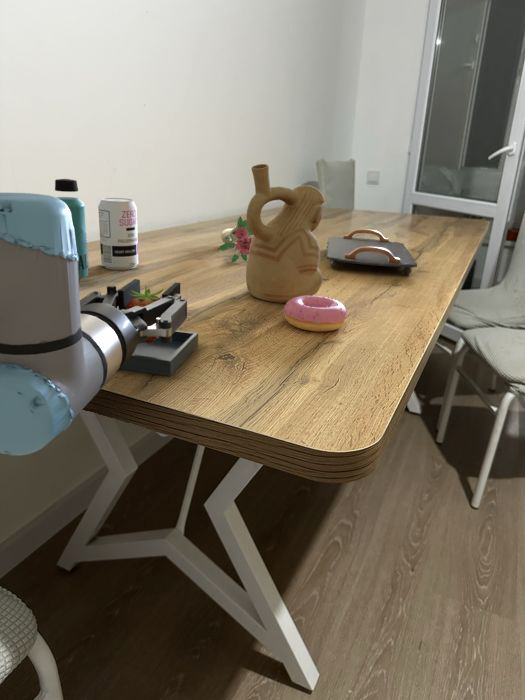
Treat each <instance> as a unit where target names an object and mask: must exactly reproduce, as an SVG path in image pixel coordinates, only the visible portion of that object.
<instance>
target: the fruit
mask: <svg viewBox="0 0 525 700" xmlns="http://www.w3.org/2000/svg"><path fill="white" fill-rule="evenodd" d="M130 291H131V290H130ZM163 291H164V288H162V289H161V290H159V291H157V292H154V293H151V289H150V288H147V285H145V288H144V294H143V293H141V292H140V293H137V292H135V291H132V292H133V293H134V294H136V295H133V296H137V297H134V298H132V299H131V300H130V302H129V303H128V305H127V307H126V310H128V309H130V308H132V307H135V306H139V307H144V306H146V305H149V304H151V303H153V302H156V301H158V300H160V299H162V295H161V296H160V297H159V296H158V295H160V294H162V293H163ZM129 294H130V293H129ZM131 295H132V294H131ZM155 339H156V337H148V339H147V340H146V341H145V342H146V343H151V342H153V341H154V340H155Z"/></svg>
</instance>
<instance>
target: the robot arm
mask: <svg viewBox="0 0 525 700" xmlns="http://www.w3.org/2000/svg"><path fill="white" fill-rule="evenodd" d="M78 261H79V256H78V254H77V248H76V240H75V232H74V226H73V222H72V216H71V212H70V209H69V208H68V206H67V205H66V204H65V203H64V202H63V201H62V200H60V199H58V198H56V196H53V195H49V194H42V193H41V194H40V193H30V192H0V454H3V455H10V456H19V457H20V456H26V455H30V454H33V453H36V452H39V451H40V450H42V449H43V448H45V447H46V446H47V445H48V444H50V442H52V441H53V440H54V439H55V438H57V436H59V435H60V434H61V433H63V432H65V431H66V430H67V429H68V428H69V427H70V426H71V424H72V422H73V421H74V419H75V418H76V417H77V416H78V415H79V414H80V413H81V412H82V411H83V409H84V408H85V407H86V406H87V405H88V404H89V403H90V402H91V401H92V400H93V399H94V397H95V396H96V395H97V394H98V393H99V392H100V390H102V389H103V388H104V387H105V386H106V384H108V382H110V380H111V379H113V377H114V376H115V375H116V374H117V373H118V372H119V371H120V370H122V369H121V368H122V366H123V365H124V364H125V363H126V362H127V361H128V360H129V359H130V358H131V356H132V355H133V353H134V351H135V349H136V346H137V344H139V343H142V342H145V341H146V340H147V339H148V337H156V338H157V339H161V342H162V343H170V342H171V341H172V334H173V333H174V332H175V331H176V330H177V331H178V329H179V328H180V326H182V325H183V324H184V322H185V321H186V320H187V319H188V299H187V298H182V293H181V282H174V283H172V285H170V286H169V287H168V288H167V289H166V290H165V291H164V292H162V293H161V296H162V297H161V298H160V300H158V301H156V302H153V303H151V304H149V305H146V306H144V307H139V306H135V307H132V308H130V309H128V310H126V307H127V305H128V303H129V302H130V300H131V299H132V298H134V297H137V296H133V295H136V294H134V293H133V292H132V291H135V292H137V293H140V294H141V279H139V278H138V279H137V278H134V279H133V280H131V281H129V282H128V283H127V284H125V285H124V286H122V287H120V288H118V289H117V286H116V285H108V286H106V294H102V292H101V291H98V290H94V291H92V292H90V293H89V294H87V295H86V296H85V297H83V298H80V278H79V274H78ZM130 290H131V291H130ZM129 293H130V294H129ZM131 294H132V295H131Z"/></svg>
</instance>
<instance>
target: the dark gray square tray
mask: <svg viewBox="0 0 525 700" xmlns="http://www.w3.org/2000/svg"><path fill="white" fill-rule="evenodd" d="M198 347H199V333H198V332H192V331H184V330H178V329H177V330H176V331H175V332H174V333H173V334H172V341H171V342H170V343H162V342H161V339H157V338H156V339H155V340H154V341H153V342H151V343H146V342H142V343H139V344H137V346H136V349H135V351H134V353H133V355H132V356H131V358H130V359H129V360H128V361H127V362H126V363H125V364H124V365H123V366H122V368H121V369H120V370H123V371H130V372H131V371H132V372H137V373H138V372H139V373H144V374H152V375H159V376H164V377H165V376H166V377H171V376H172V375H173V374H174V373H175V372H176V371H177V370H178V369H179V368H180V367H181V365H182V364H183V363H184V362H185V361H186V360H187V359H188V358H189V357H190V356H191V355H192V354H193V352H194V351H195V350H196V349H197V348H198Z"/></svg>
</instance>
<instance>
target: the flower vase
mask: <svg viewBox="0 0 525 700" xmlns="http://www.w3.org/2000/svg"><path fill="white" fill-rule="evenodd" d="M253 236H254V235H253V234H252V233H251V232H250V230H249V227H248V224H247V219H244V220H243V218H242V215H239V217H238V219H237V223H236V224H235V226H234V227H233V228H229V227H228V228H226V229H224V230H222V232H221V236H220V238H221V241H222V242H223V244H222V245H220V246H219V248H218V250H217V251H227V250H229V248H230V249H234V250H235V251H237V252H238V253H237V254H236V253H234V254H233V256H232V258H231V260H230V264H233V263H236V262H237V261H238V260H239V259H240V257H241V258H242V260H243V261H244V262H246V263H247V261H248V256H249V248H250V244H251V241H252V239H253ZM239 255H240V256H239Z"/></svg>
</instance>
